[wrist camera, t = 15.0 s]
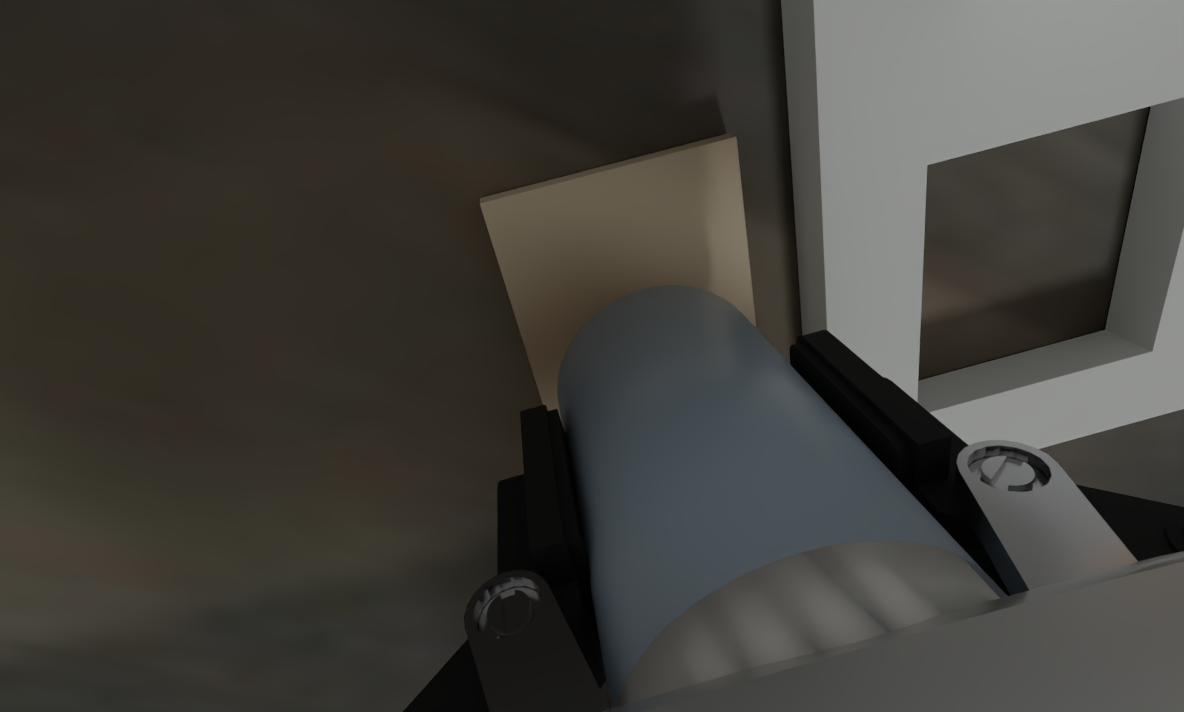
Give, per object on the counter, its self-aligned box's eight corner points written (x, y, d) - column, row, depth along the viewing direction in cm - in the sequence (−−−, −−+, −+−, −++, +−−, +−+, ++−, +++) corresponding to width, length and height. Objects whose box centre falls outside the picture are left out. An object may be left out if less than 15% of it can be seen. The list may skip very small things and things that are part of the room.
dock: (1164, 377, 19) (1412, 498, 14) (811, 474, 19) (930, 634, 14) (1485, -819, 9) (2818, -2001, 4) (739, -646, 9) (1087, -1657, 4)
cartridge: (770, 439, 16) (1056, 846, 8) (583, 490, 15) (676, 956, 7) (751, 260, 13) (1141, 577, 5) (532, 318, 13) (587, 732, 5)
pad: (764, 462, 19) (771, 474, 18) (578, 513, 19) (581, 526, 18) (727, 133, 14) (736, 136, 14) (480, 197, 14) (479, 203, 13)
